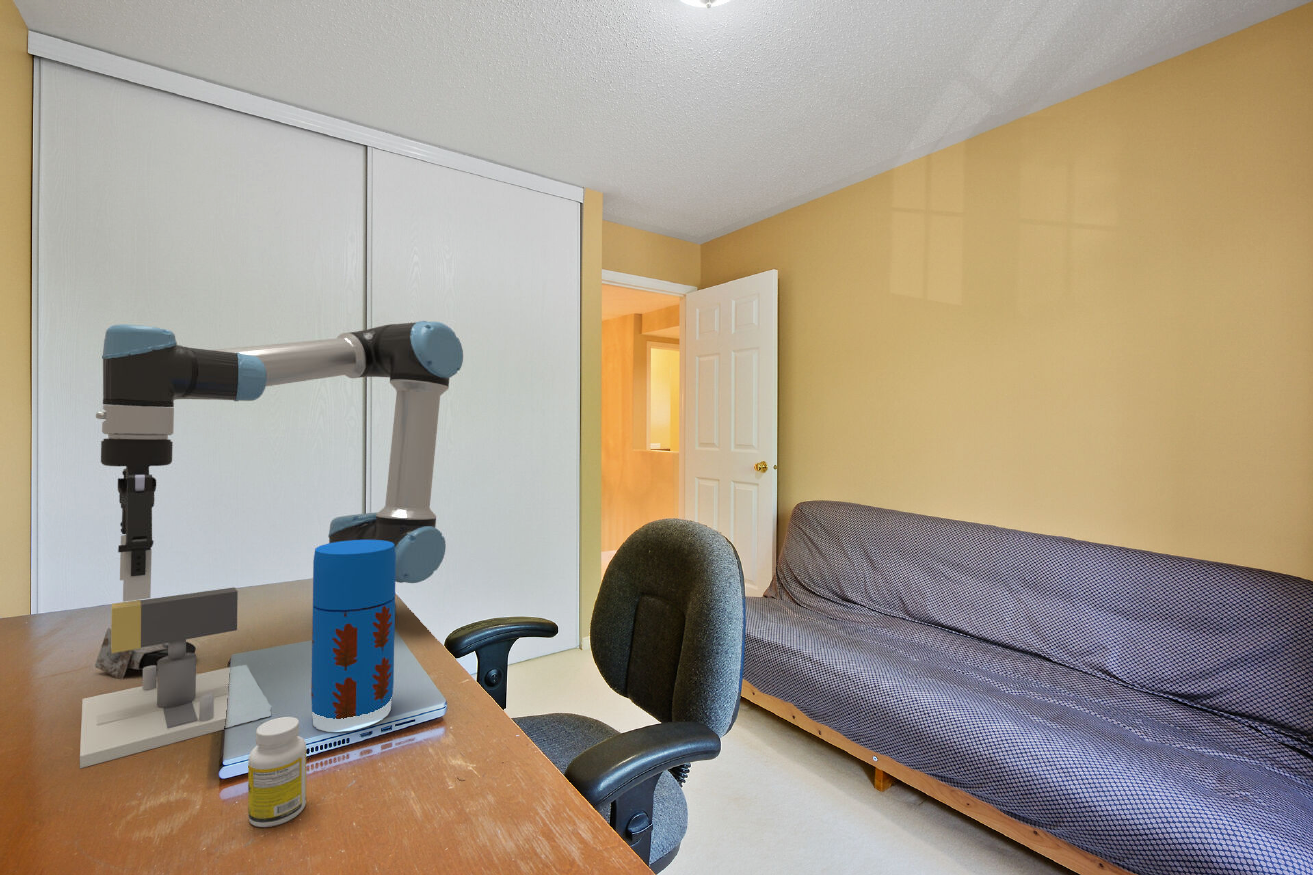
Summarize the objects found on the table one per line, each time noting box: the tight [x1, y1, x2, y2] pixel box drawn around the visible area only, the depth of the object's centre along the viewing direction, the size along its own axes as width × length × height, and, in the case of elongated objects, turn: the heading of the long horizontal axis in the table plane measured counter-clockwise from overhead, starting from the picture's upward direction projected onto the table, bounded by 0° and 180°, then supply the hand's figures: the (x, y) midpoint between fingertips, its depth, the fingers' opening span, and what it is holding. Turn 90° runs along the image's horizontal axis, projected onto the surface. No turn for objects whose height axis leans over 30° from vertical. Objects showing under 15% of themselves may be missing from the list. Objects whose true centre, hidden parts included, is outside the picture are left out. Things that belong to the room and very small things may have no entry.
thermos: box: [310, 540, 396, 719], centre depth 87 cm, size 11×11×25 cm
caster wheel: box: [94, 627, 197, 680], centre depth 102 cm, size 7×11×10 cm
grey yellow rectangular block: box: [110, 587, 239, 659], centre depth 86 cm, size 14×3×9 cm, turn 134°
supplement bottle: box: [247, 716, 307, 828], centre depth 65 cm, size 5×5×10 cm
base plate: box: [79, 653, 230, 769], centre depth 86 cm, size 20×20×8 cm
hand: (134, 588), depth 83 cm, fingers open, 13 cm apart
